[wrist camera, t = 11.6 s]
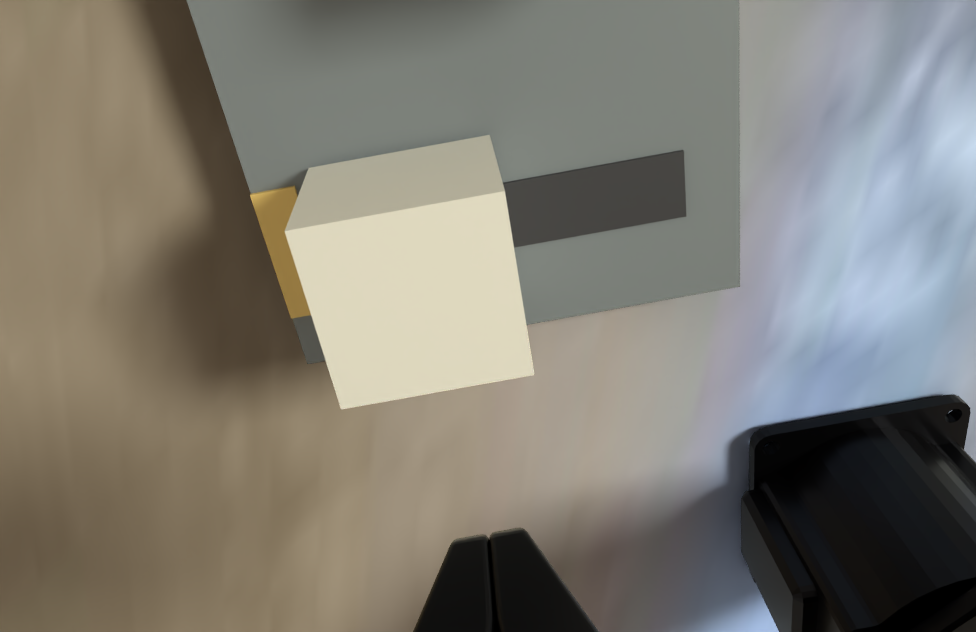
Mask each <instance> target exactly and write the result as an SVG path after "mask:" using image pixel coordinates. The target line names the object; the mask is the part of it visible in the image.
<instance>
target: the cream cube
mask: <svg viewBox="0 0 976 632" xmlns="http://www.w3.org/2000/svg"><path fill="white" fill-rule="evenodd" d="M285 234H286V237H287V241H288V244H289V247H290V250H291V253H292V256H293V259H294V263H295V266H296V269H297V272H298V275H299V278H300V281H301V285H302V288H303V291H304V294H305V297H306V300H307V303H308V307H309V310H310V313H311V316H312V319H313V322H314V326H315V329H316V332H317V335H318V338H319V341H320V344H321V348H322V351H323V354H324V357H325V360H326V363H327V366H328V370H329V373H330V376H331V379H332V382H333V385H334V388H335V392H336V395H337V398H338V401H339V404H340V407H341V409H346V408H352V407H358V406H363V405H369V404H374V403H380V402H386V401H391V400H397V399H402V398H408V397H414V396H419V395H425V394H430V393H436V392H442V391H447V390H453V389H458V388H464V387H469V386H475V385H481V384H486V383H492V382H497V381H503V380H509V379H514V378H520V377H525V376H531V375H534V369H533V363H532V357H531V350H530V344H529V338H528V332H527V325H526V319H525V313H524V307H523V301H522V294H521V288H520V282H519V276H518V269H517V263H516V257H515V251H514V245H513V238H512V232H511V226H510V220H509V213H508V207H507V201H506V195H505V190H504V186H503V182H502V178H501V175H500V171H499V167H498V164H497V160H496V156H495V153H494V149H493V145H492V142H491V138H490V135H486V136H480V137H475V138H469V139H464V140H458V141H453V142H447V143H442V144H436V145H431V146H426V147H420V148H415V149H409V150H404V151H398V152H393V153H387V154H382V155H376V156H371V157H365V158H360V159H355V160H349V161H344V162H338V163H333V164H327V165H322V166H316V167H311V168H308V171H307V174H306V176H305V179H304V181H303V184H302V187H301V189H300V192H299V195H298V197H297V200H296V202H295V205H294V208H293V210H292V213H291V216H290V218H289V221H288V223H287V226H286V229H285Z"/></svg>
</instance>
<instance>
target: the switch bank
mask: <svg viewBox="0 0 976 632" xmlns="http://www.w3.org/2000/svg"><path fill="white" fill-rule="evenodd" d="M187 3H188V6H189V9H190V12H191V15H192V18H193V21H194V24H195V27H196V30H197V33H198V36H199V39H200V42H201V45H202V48H203V51H204V54H205V58H206V61H207V64H208V67H209V70H210V73H211V76H212V79H213V82H214V85H215V88H216V91H217V94H218V97H219V100H220V103H221V106H222V109H223V112H224V115H225V118H226V121H227V124H228V127H229V130H230V133H231V136H232V139H233V142H234V145H235V148H236V151H237V154H238V157H239V160H240V163H241V166H242V169H243V172H244V175H245V178H246V181H247V184H248V187H249V190H250V193H251V194H250V197H251V200H252V203H253V206H254V209H255V212H256V215H257V218H258V221H259V224H260V227H261V230H262V233H263V236H264V239H265V242H266V245H267V248H268V251H269V254H270V257H271V260H272V263H273V266H274V269H275V272H276V275H277V278H278V281H279V284H280V287H281V290H282V293H283V296H284V299H285V302H286V305H287V308H288V311H289V314H290V317H291V319H293V322H294V325H295V328H296V331H297V334H298V337H299V340H300V343H301V346H302V349H303V352H304V355H305V358H306V361H307V364H311V363H317V362H323V361H326V360H325V357H324V354H323V351H322V348H321V344H320V341H319V338H318V335H317V332H316V329H315V326H314V322H313V319H312V316H311V313H310V310H309V307H308V303H307V300H306V297H305V294H304V291H303V288H302V285H301V281H300V278H299V275H298V272H297V269H296V266H295V263H294V259H293V256H292V253H291V250H290V247H289V244H288V241H287V237H286V234H285V229H286V226H287V223H288V221H289V218H290V216H291V213H292V210H293V208H294V205H295V202H296V200H297V197H298V195H299V192H300V189H301V187H302V184H303V181H304V179H305V176H306V174H307V171H308V168H311V167H316V166H322V165H327V164H333V163H338V162H344V161H349V160H355V159H360V158H365V157H371V156H376V155H382V154H387V153H393V152H398V151H404V150H409V149H415V148H420V147H426V146H431V145H436V144H442V143H447V142H453V141H458V140H464V139H469V138H475V137H480V136H486V135H490V138H491V142H492V145H493V149H494V153H495V156H496V160H497V164H498V167H499V171H500V175H501V178H502V182H503V186H504V190H505V195H506V201H507V207H508V213H509V220H510V226H511V232H512V238H513V245H514V251H515V257H516V263H517V269H518V276H519V282H520V288H521V294H522V301H523V307H524V313H525V319H526V325H529V324H534V323H540V322H545V321H551V320H556V319H562V318H568V317H573V316H579V315H584V314H590V313H595V312H601V311H607V310H612V309H618V308H623V307H629V306H634V305H640V304H645V303H651V302H657V301H662V300H668V299H673V298H679V297H684V296H690V295H696V294H701V293H707V292H712V291H718V290H723V289H729V288H735V287H740V123H739V0H187Z"/></svg>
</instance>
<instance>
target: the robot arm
mask: <svg viewBox="0 0 976 632" xmlns="http://www.w3.org/2000/svg"><path fill="white" fill-rule="evenodd" d="M951 410H952V411H951ZM949 411H951V412H950V413H948V412H949ZM947 413H948V414H947ZM969 417H970V407H969V406H968V405H967V404H966V403H965V402H964V401H963V400H962V399H961V398H960V397H959V396H956V395H943V396H938V397H932V398H926V399H921V400H915V401H909V402H904V403H898V404H892V405H887V406H881V407H875V408H870V409H864V410H858V411H853V412H847V413H842V414H836V415H830V416H825V417H819V418H813V419H808V420H802V421H796V422H791V423H785V424H779V425H774V426H768V427H764V428H761V429H759V430H758V431H756V432H755V433H754V434H753V435H752V437H751V439H750V444H749V491H746V492H745V493H744V495H743V497H742V498H741V552H742V555H743V557H744V559H745V561H746V563H747V565H748V567H749V571H750V574H751V576H752V578H753V580H754V582H755V583H756V584H757V586H758V588H759V590H760V592H761V595H762V597H763V599H764V601H765V603H766V605H767V607H768V609H769V611H770V613H771V616H772V618H773V620H774V622H775V624H776V626H777V628H778V630H779V632H976V462H975V461H974V460H973V459H972V458H971V457H970V456H969V455H968V454H967V453H966V452H965V451H964V445H965V440H966V434H967V429H968V423H969ZM771 441H773V442H772V443H771V444H770V445H768V446H764V445H765V444H766V443H768V442H771ZM413 632H598V630H597V629H596V627H595V626H594V625H593V623H592V622H591V620H590V619H589V618H588V616H587V615H586V613H585V612H584V611H583V609H582V608H581V606H580V605H579V604H578V602H577V601H576V599H575V598H574V597H573V595H572V594H571V592H570V591H569V590H568V588H567V587H566V585H565V584H564V583H563V581H562V580H561V578H560V577H559V576H558V574H557V573H556V571H555V570H554V569H553V567H552V566H551V564H550V563H549V562H548V560H547V559H546V557H545V556H544V555H543V553H542V552H541V550H540V549H539V548H538V546H537V545H536V543H535V542H534V541H533V539H532V538H531V536H530V535H529V534H528V532H527V531H526V530H524V529H523V528H515V529H509V530H504V531H498V532H494V533H492V534H491V535H490V538H488V537H487V536H486V535H476V536H470V537H465V538H459V539H456V540H454V541H453V542H452V543H451V545H450V547H449V549H448V552H447V554H446V556H445V559H444V561H443V563H442V566H441V568H440V570H439V573H438V575H437V577H436V580H435V582H434V584H433V587H432V589H431V591H430V594H429V596H428V598H427V601H426V603H425V605H424V608H423V610H422V612H421V615H420V617H419V619H418V622H417V624H416V626H415V629H414V631H413Z"/></svg>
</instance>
